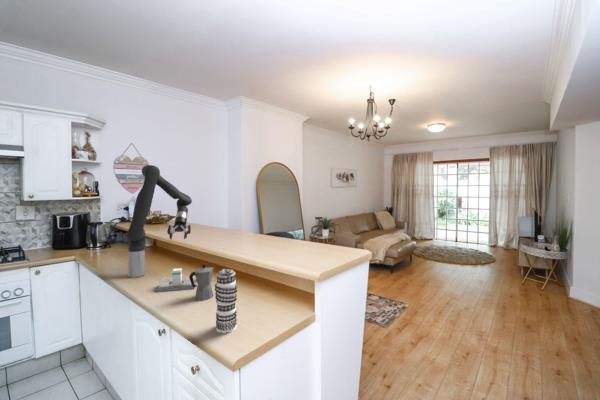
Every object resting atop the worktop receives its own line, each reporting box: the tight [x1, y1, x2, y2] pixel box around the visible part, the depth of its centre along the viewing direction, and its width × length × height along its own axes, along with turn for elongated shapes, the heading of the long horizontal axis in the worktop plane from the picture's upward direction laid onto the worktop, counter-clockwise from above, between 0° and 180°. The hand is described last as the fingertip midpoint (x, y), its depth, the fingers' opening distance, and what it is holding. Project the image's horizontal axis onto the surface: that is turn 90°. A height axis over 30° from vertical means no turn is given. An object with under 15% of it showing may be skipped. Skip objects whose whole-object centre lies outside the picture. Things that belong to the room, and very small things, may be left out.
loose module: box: [171, 267, 183, 286], centre depth 160 cm, size 4×4×9 cm
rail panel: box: [156, 275, 197, 293], centre depth 160 cm, size 20×12×5 cm, turn 105°
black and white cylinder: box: [214, 268, 238, 334], centre depth 114 cm, size 9×9×25 cm
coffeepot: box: [188, 264, 215, 301], centre depth 144 cm, size 15×9×18 cm, turn 147°
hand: (177, 238), depth 178 cm, fingers open, 8 cm apart
